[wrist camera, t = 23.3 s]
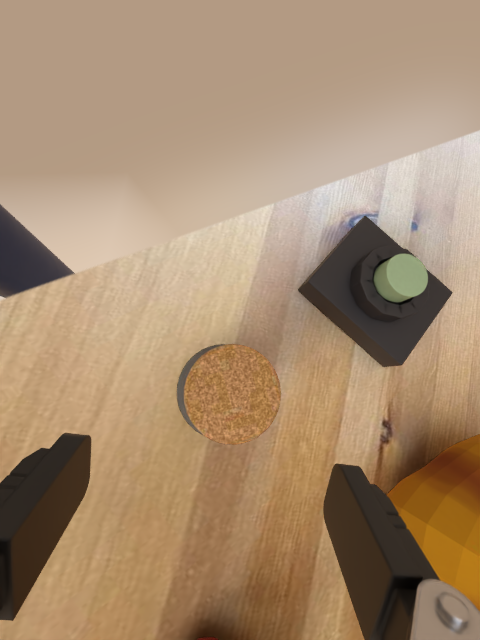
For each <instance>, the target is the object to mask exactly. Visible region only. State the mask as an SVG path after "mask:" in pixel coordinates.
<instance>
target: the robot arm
mask: <svg viewBox="0 0 480 640" xmlns="http://www.w3.org/2000/svg"><path fill="white" fill-rule="evenodd" d="M90 461H91V437H90V436H89V435H80V434H71V433H64V434H63V435H62V436H61V437H60V438H59V439H58V440H57V441H56V442H55V443H54V445H53V446H52V447H51V448H50V449H46V448H41V449H39V450H37V451H36V452H34V453H32V454H31V455H29V456H27V457H26V458H24V459H23V460H22V461H21V462H20V463H19V464H18V465H17V466H16V467H15V468H14V469H13V470H12V472H11V473H10V475H9V476H7V477H6V478H5V479H4V480H3V481H2V482H1V483H0V620H12V621H13V620H14V618H15V616H16V615H17V613H18V611H19V610H20V608H21V606H22V604H23V603H24V601H25V599H26V597H27V596H28V594H29V592H30V590H31V589H32V587H33V585H34V583H35V582H36V580H37V578H38V576H39V575H40V573H41V571H42V569H43V568H44V566H45V564H46V562H47V561H48V559H49V557H50V555H51V554H52V552H53V550H54V548H55V547H56V545H57V543H58V541H59V540H60V538H61V536H62V534H63V533H64V531H65V529H66V527H67V526H68V524H69V522H70V520H71V519H72V517H73V515H74V513H75V512H76V510H77V508H78V506H79V505H80V503H81V501H82V499H83V498H84V495H85V493H86V490H87V487H88V484H89V479H90ZM323 510H324V520H325V524H326V527H327V530H328V533H329V535H330V538H331V541H332V544H333V547H334V550H335V553H336V556H337V559H338V562H339V565H340V568H341V571H342V574H343V577H344V580H345V583H346V586H347V589H348V592H349V595H350V598H351V601H352V604H353V607H354V610H355V612H356V615H357V618H358V621H359V624H360V627H361V630H362V633H363V636H364V639H365V640H480V611H479V610H478V609H477V608H476V606H475V605H474V604H473V603H472V602H471V601H470V600H469V599H468V598H467V597H466V596H465V595H464V594H462V593H461V592H460V591H459V590H457V589H456V588H454V587H453V586H451V585H449V584H447V583H445V582H443V581H441V580H440V579H439V577H438V576H437V574H436V572H435V571H434V569H433V568H432V566H431V564H430V563H429V561H428V560H427V558H426V556H425V555H424V553H423V551H422V550H421V548H420V547H419V545H418V543H417V542H416V540H415V539H414V537H413V535H412V534H411V532H410V530H409V529H407V526H406V524H405V522H404V521H403V519H402V518H401V516H399V513H398V511H397V510H396V508H395V506H394V505H393V503H392V501H391V500H390V498H389V497H388V496H387V495H386V494H385V493H384V492H383V491H381V490H380V489H379V488H378V487H377V486H376V485H374V484H370V483H369V481H368V480H367V478H366V476H365V474H364V473H363V471H362V469H361V468H360V467H359V466H353V465H344V464H335V465H334V467H333V469H332V473H331V477H330V480H329V484H328V488H327V492H326V496H325V500H324V509H323Z"/></svg>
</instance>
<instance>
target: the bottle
mask: <svg viewBox="0 0 480 640" xmlns="http://www.w3.org/2000/svg"><path fill="white" fill-rule="evenodd" d="M280 398H281V391H280V383H279V379H278V376H277V374H276V372H275V370H274V368H273V366H272V365H271V363H270V362H269V361H268V360H267V359H266V358H265V357H264V356H263V355H262V354H260V353H259V352H257V351H256V350H254V349H252V348H249V347H246V346H243V345H236V344H228V345H223V344H221V345H214V346H211V347H207V348H205V349H203V350H201V351H199V352H198V353H196V354H195V355H194V356H193V357H192V358H191V359H190V360H189V361H188V362H187V363H186V365H185V366H184V368H183V370H182V372H181V374H180V377H179V381H178V384H177V400H178V405H179V408H180V411H181V413H182V415H183V417H184V419H185V420H186V421H187V423H188V424H189V425H190V426H191V427H192V428H193V429H194V430H195V431H197V432H199V433H200V434H202V435H204V436H206V437H207V438H209V439H211V440H213V441H216V442H218V443H222V444H229V445H234V444H242V443H245V442H248V441H251V440H253V439H255V438H257V437H258V436H260V435H261V434H262V433H263V432H265V431H266V429H267V428H268V427H269V426H270V425H271V424H272V422H273V420H274V418H275V417H276V414H277V412H278V409H279V405H280Z"/></svg>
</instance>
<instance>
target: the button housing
mask: <svg viewBox="0 0 480 640" xmlns="http://www.w3.org/2000/svg"><path fill="white" fill-rule="evenodd" d="M398 254H410V255H412V256H414V255H413V254H412V253H410V252H409V251H408V250H406V249H403V248H402V247H400V246H399V245H398V244H397V243H396V242H395V241H394V240H393V239H391V238H390V237H389V236H388V235H387V234H386V233H385V232H383V231H382V230H381V229H380V228H379V227H378V226H377V225H375V224H374V223H373V222H372V221H371V220H370V219H369V218H368V217H366V216H364V217H363V218H362V219H361V220H360V221H359V222H358V223H357V224H356V225H355V226H354V227H353V228H352V229H351V230H350V231H349V232H348V233H347V234H346V236H345V237H344V238H343V239H342V240H341V241H340V242H339V244H338V245H337V246H336V247H335V248H334V249H333V250H332V252H331V253H330V254H329V255H328V256H327V257H326V258H325V259H324V261H323V262H322V263H321V264H320V265H319V266H318V267H317V269H316V270H315V271H314V272H313V273H312V274H311V275H310V277H309V278H308V279H307V280H306V281H305V282H304V283H303V285H302V286H301V287H300V288H299V289H298V291H299V292H300V293H301V294H302V295H304V296H305V297H306V298H307V299H308V300H309V301H310V302H311V303H313V304H314V305H315V306H316V307H317V308H318V309H319V310H320V311H322V312H323V313H324V314H325V315H326V316H327V317H328V318H329V319H330V320H332V321H333V322H334V323H335V324H336V325H337V326H338V327H339V328H341V329H342V330H343V331H344V332H345V333H346V334H347V335H348V336H349V337H351V338H352V339H353V340H354V341H355V342H356V343H357V344H358V345H360V346H361V347H362V348H363V349H364V350H365V351H366V352H367V353H369V354H370V355H371V356H372V357H373V358H374V359H375V360H376V361H377V362H379V363H380V364H381V365H382V366H383V367H387V366H399V365H402V364H403V363H404V361H405V360H406V359H407V357H408V356H409V354H410V353H411V351H412V350H413V349H414V347H415V346H416V344H417V343H418V341H419V340H420V339H421V337H422V336H423V334H424V333H425V331H426V330H427V329H428V327H429V326H430V324H431V323H432V321H433V320H434V319H435V317H436V316H437V314H438V313H439V311H440V310H441V309H442V307H443V306H444V304H445V303H446V301H447V300H448V299H449V297H450V296H451V294H452V291H450V290H449V289H448V288H447V287H446V286H445V285H444V284H442V283H441V282H440V281H439V280H438V279H437V278H436V277H435V276H433V275H432V274H431V273H430V272H429V271H428V270H427V269H426V271H427V274H428V283H427V286H426V288H425V290H424V291H423V292H422V293H421V294H419V295H417V296H415V297H412V298H410V299H407V300H405V301H402V302H391V301H388V300H386V299H384V298H383V297H382V296H381V295H380V294H379V293H378V292H377V290H376V288H375V285H374V274H375V271H376V269H377V268H378V267H379V266H380V265H381V264H382V263H384V262H386V261H387V260H389V259H390V258H392V257H394V256H395V255H398Z"/></svg>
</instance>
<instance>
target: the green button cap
mask: <svg viewBox="0 0 480 640" xmlns="http://www.w3.org/2000/svg"><path fill="white" fill-rule="evenodd" d="M427 283H428V274H427V271H426V268H425V266H424V265H423V263H422V262H421V261H420V260H419V259H418V258H416V257H415V256H412V255H410V254H398V255H395V256H394V257H392V258H390V259H389V260H387V261H386V262H384V263H382V264H381V265H380V266H379V267H378V268H377V269H376V271H375V274H374V285H375V288H376V290H377V292H378V293H379V294H380V295H381V296H382V297H383V298H384V299H386V300H388V301H391V302H402V301H405V300H407V299H410V298H412V297H415V296H417V295H419V294H421V293H422V292H423V291H424V290H425V288H426V286H427Z"/></svg>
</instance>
